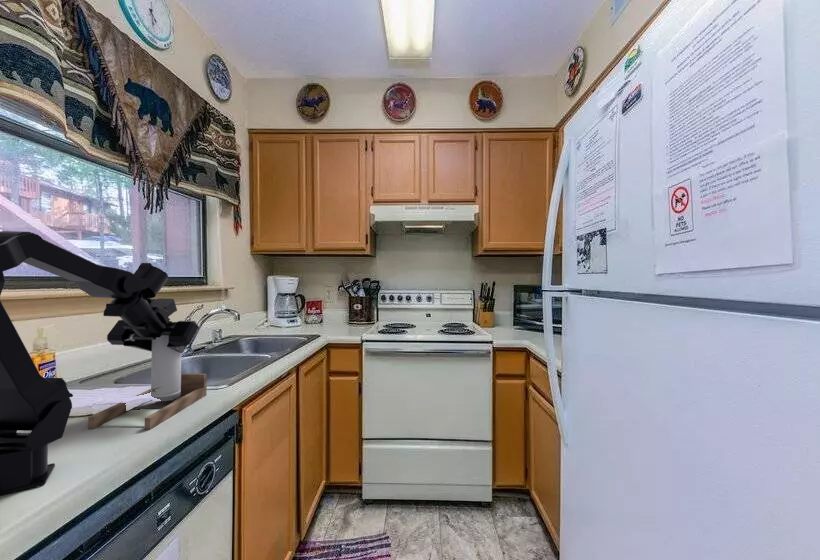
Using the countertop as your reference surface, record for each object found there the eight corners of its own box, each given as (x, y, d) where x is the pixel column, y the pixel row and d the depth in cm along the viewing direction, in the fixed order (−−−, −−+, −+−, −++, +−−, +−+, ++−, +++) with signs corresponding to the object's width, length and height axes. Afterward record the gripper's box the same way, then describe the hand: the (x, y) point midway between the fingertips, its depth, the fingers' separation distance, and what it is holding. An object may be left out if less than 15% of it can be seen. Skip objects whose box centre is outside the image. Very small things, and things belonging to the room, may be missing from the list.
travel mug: (150, 404, 82) (151, 322, 82) (151, 396, 88) (152, 319, 88) (181, 399, 86) (182, 320, 86) (180, 391, 91) (181, 318, 91)
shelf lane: (150, 429, 73) (150, 402, 73) (88, 428, 73) (88, 400, 73) (206, 395, 94) (206, 373, 93) (158, 394, 93) (158, 372, 93)
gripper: (194, 288, 83) (218, 327, 94) (117, 287, 83) (150, 325, 94) (172, 325, 75) (201, 362, 86) (87, 323, 75) (127, 361, 86)
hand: (170, 351), depth 88 cm, fingers closed on travel mug, 6 cm apart
